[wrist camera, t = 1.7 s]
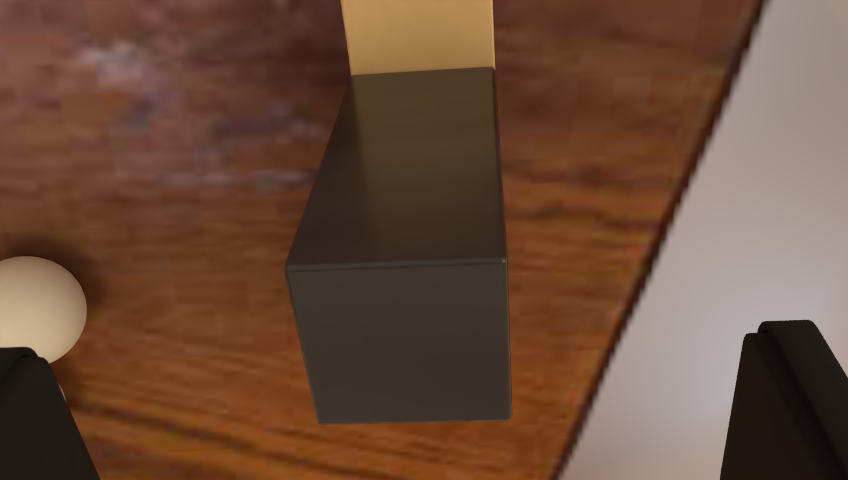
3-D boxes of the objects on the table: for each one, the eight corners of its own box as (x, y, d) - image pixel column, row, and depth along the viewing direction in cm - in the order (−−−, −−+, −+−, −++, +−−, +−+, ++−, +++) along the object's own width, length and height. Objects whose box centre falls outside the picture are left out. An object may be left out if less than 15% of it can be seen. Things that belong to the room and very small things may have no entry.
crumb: (-21, 236, 23) (-86, 304, 20) (85, 232, 22) (32, 300, 20) (20, 322, 24) (-36, 395, 22) (117, 319, 24) (73, 392, 22)
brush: (340, -185, 16) (200, -93, 8) (483, -198, 16) (496, -117, 8) (398, 280, 23) (355, 598, 14) (501, 276, 23) (518, 598, 14)
